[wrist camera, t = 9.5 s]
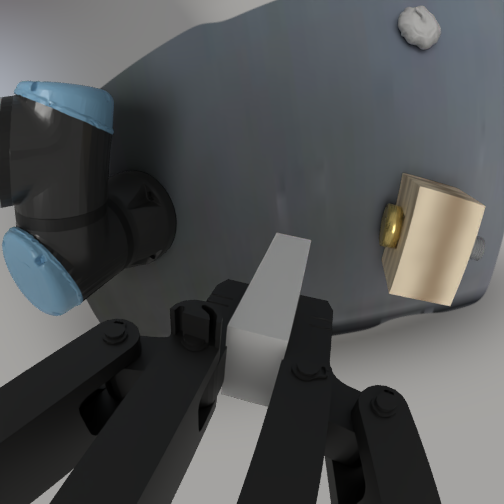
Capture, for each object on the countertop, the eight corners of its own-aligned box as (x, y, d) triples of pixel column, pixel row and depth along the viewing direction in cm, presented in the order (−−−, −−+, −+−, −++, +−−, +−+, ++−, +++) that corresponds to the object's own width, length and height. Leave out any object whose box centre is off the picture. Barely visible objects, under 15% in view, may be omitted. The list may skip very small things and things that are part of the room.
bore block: (381, 259, 39) (389, 293, 31) (402, 172, 34) (419, 186, 26) (432, 271, 37) (450, 306, 29) (457, 188, 32) (485, 206, 24)
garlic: (391, 9, 25) (398, -6, 21) (431, 15, 24) (442, 2, 19) (397, 49, 28) (404, 38, 23) (437, 56, 26) (449, 46, 22)
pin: (377, 236, 36) (381, 252, 32) (386, 199, 34) (392, 209, 30) (466, 258, 33) (479, 275, 29) (477, 224, 31) (493, 237, 27)
